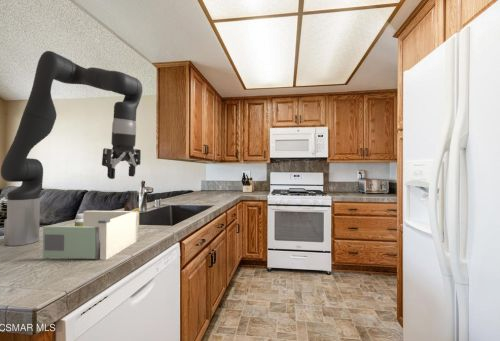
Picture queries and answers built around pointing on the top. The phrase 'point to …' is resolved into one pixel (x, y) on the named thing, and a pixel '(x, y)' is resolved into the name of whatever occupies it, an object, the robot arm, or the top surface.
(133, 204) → the sauce bottle
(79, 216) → the supplement bottle
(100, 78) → the robot arm
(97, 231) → the door
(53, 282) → the top surface
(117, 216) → the cabinet frame
